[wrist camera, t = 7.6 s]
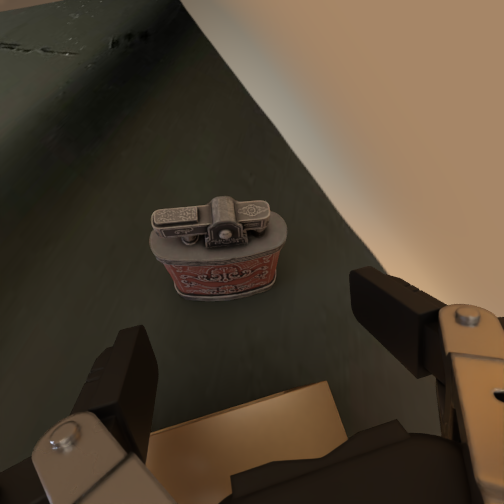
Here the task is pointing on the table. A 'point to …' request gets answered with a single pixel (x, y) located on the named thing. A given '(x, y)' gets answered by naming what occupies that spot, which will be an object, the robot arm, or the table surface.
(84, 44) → the table surface
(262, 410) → the shelf rack
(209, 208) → the lighter
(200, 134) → the table surface
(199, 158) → the table surface
